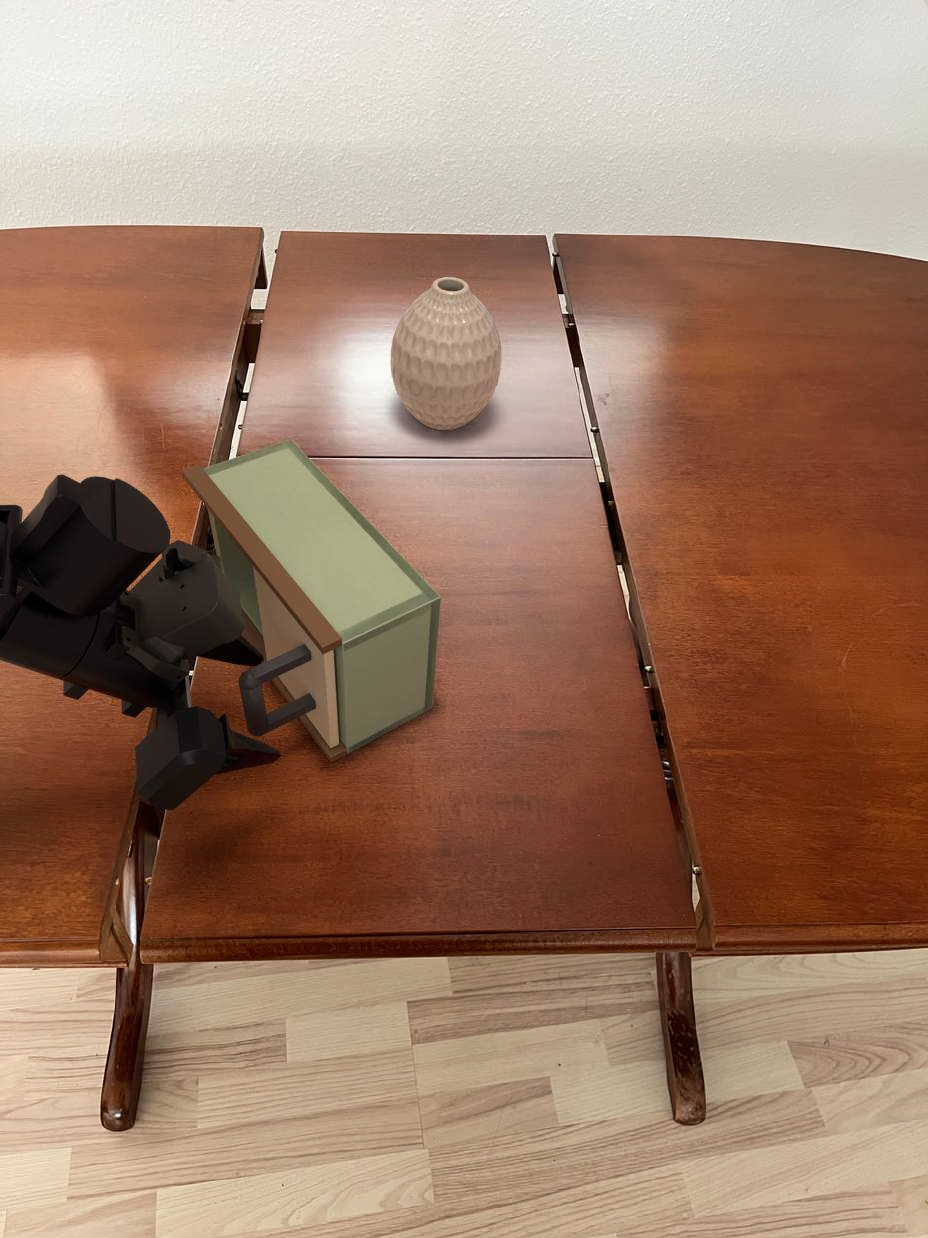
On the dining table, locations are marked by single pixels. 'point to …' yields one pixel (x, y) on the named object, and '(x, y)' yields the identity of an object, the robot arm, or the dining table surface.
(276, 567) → the cabinet
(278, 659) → the door
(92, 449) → the dining table surface
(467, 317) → the vase
